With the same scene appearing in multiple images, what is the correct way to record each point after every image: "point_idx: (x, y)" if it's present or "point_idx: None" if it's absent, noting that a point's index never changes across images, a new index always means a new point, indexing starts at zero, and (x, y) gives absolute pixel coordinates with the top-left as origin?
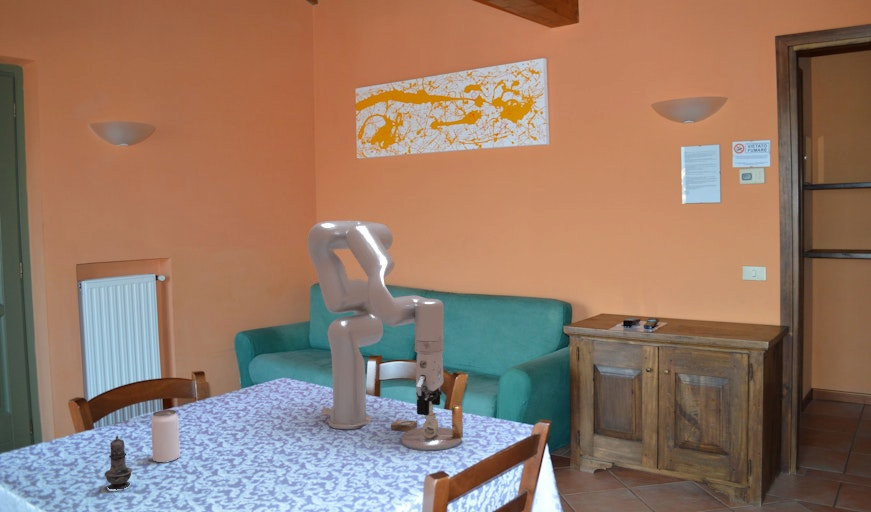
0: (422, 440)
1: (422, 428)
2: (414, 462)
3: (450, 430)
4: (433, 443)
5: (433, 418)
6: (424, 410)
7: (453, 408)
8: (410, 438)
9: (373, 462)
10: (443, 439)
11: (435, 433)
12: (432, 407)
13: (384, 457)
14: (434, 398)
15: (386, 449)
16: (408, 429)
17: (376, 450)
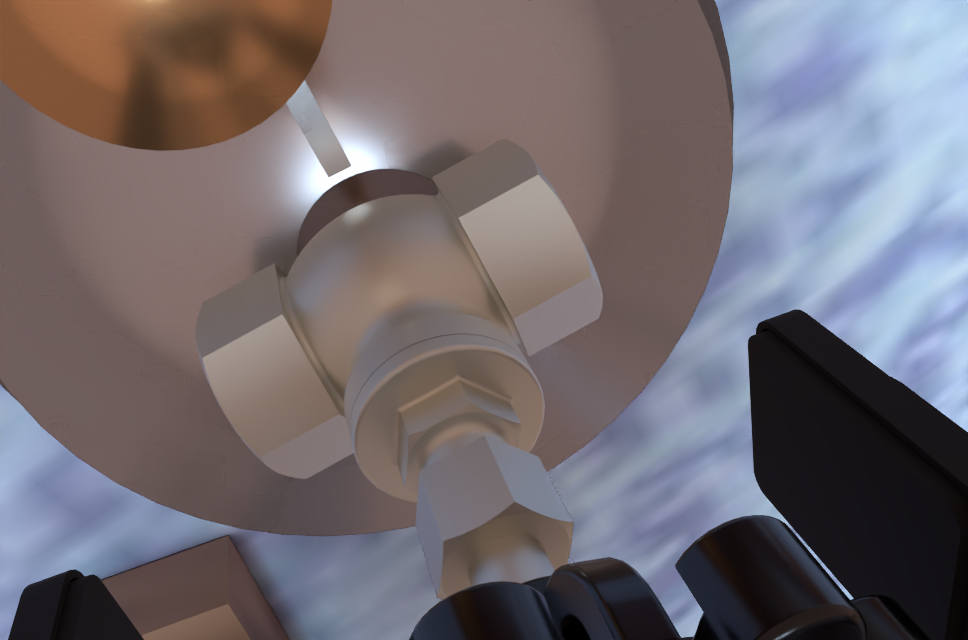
0: (582, 233)
1: (201, 489)
2: (920, 27)
3: (11, 177)
4: (633, 54)
5: (478, 318)
6: (906, 387)
7: (331, 4)
8: (570, 371)
9: (960, 314)
10: (436, 27)
11: (514, 145)
12: (500, 471)
13: (848, 322)
14: (620, 577)
15: (676, 428)
16: (240, 590)
17: (720, 464)
